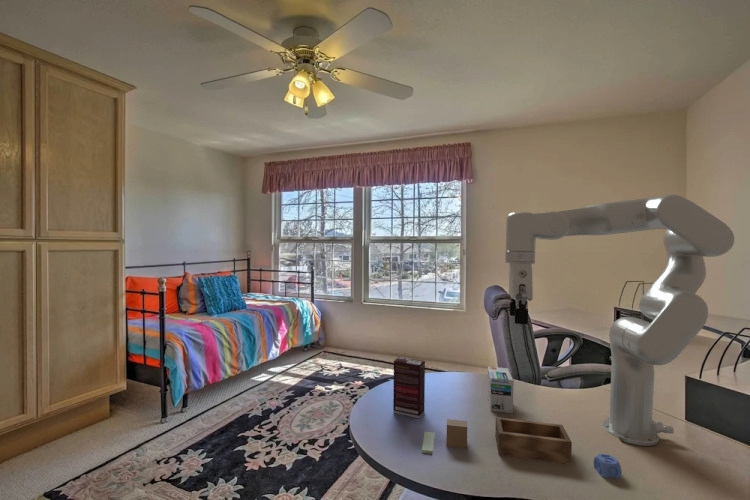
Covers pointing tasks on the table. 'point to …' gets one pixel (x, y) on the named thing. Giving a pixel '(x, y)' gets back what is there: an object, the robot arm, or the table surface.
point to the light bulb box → (500, 389)
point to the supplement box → (409, 387)
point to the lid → (448, 436)
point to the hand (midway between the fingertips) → (518, 319)
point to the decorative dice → (607, 466)
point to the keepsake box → (533, 440)
